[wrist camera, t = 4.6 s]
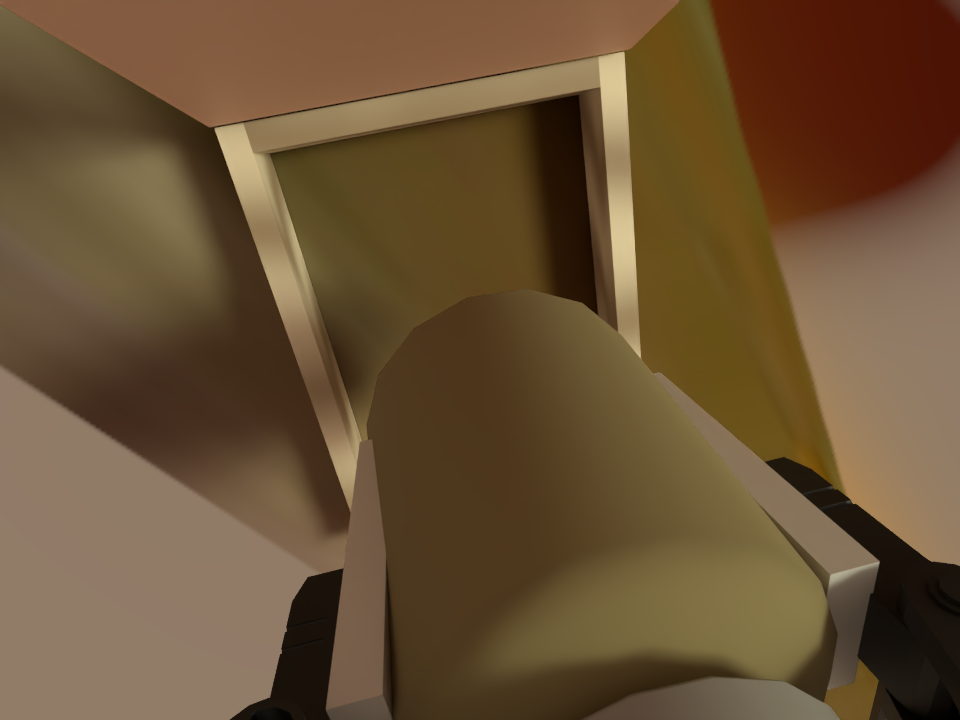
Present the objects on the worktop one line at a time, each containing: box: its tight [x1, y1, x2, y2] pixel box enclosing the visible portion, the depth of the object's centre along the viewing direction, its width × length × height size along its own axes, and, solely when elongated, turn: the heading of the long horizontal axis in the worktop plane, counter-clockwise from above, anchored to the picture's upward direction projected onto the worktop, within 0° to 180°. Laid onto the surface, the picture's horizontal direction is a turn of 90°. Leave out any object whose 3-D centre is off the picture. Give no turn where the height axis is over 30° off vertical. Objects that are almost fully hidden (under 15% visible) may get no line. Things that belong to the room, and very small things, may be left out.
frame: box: [214, 52, 641, 512], centre depth 23 cm, size 20×15×2 cm
